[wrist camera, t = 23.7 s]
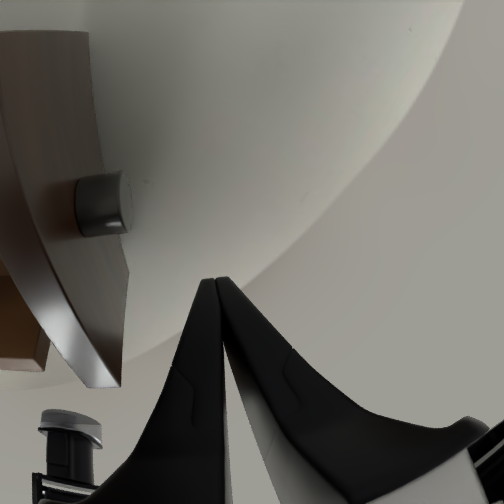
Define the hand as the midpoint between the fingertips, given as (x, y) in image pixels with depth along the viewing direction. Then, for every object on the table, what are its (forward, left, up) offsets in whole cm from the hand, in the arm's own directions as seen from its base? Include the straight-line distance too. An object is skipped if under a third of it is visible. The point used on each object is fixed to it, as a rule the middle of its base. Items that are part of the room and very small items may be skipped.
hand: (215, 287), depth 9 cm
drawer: (+3, +10, -3) cm, 11 cm away
